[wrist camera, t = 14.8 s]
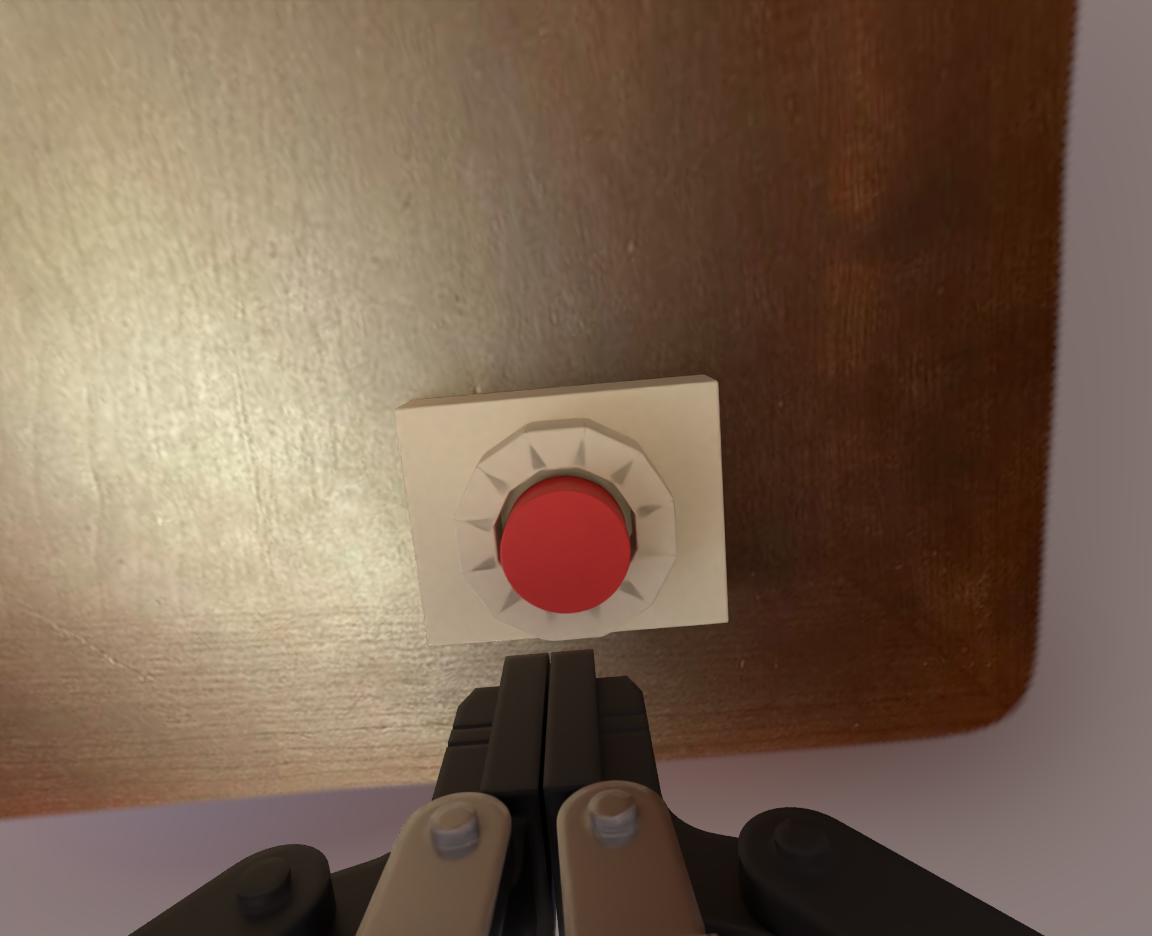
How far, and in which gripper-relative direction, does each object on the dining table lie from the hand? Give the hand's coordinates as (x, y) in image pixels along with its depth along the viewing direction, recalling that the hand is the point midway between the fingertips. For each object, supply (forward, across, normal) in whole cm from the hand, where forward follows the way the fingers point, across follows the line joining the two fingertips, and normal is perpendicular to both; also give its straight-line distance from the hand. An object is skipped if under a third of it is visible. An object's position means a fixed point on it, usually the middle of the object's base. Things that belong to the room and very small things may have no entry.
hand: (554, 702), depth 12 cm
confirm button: (+9, 0, 0) cm, 9 cm away
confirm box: (+13, 0, 0) cm, 13 cm away
